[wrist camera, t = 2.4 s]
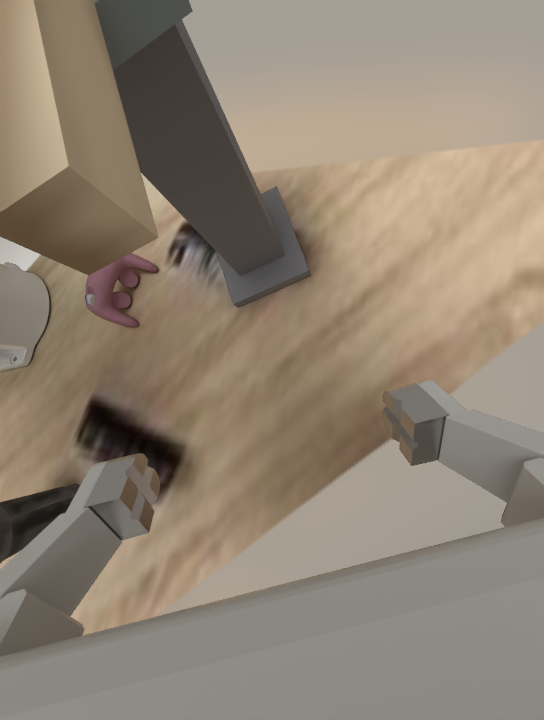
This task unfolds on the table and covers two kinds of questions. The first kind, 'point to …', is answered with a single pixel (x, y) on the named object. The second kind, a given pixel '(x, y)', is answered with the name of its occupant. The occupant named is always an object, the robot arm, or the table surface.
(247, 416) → the table surface
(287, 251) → the shelf stand
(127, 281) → the video game controller
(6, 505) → the beverage cup
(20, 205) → the tan brown bar
